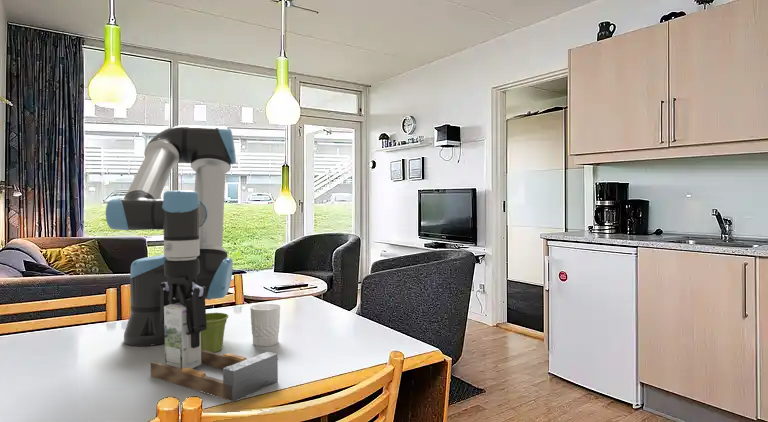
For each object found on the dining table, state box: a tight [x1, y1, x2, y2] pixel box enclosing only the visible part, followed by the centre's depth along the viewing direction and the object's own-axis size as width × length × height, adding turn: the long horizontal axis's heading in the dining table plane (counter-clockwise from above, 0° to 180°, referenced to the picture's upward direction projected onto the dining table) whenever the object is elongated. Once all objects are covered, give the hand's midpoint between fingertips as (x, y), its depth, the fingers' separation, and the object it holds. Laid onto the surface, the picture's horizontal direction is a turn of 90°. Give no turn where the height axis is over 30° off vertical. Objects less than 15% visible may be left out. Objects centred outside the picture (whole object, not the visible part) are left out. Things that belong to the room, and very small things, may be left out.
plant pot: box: [201, 312, 229, 353], centre depth 124 cm, size 9×9×9 cm
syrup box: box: [164, 302, 202, 369], centre depth 110 cm, size 6×6×14 cm
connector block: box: [222, 351, 279, 402], centre depth 98 cm, size 3×12×6 cm, turn 149°
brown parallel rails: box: [150, 349, 248, 402], centre depth 105 cm, size 26×12×4 cm, turn 59°
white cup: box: [249, 302, 281, 347], centre depth 130 cm, size 8×8×10 cm
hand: (183, 358), depth 110 cm, fingers closed on syrup box, 6 cm apart
